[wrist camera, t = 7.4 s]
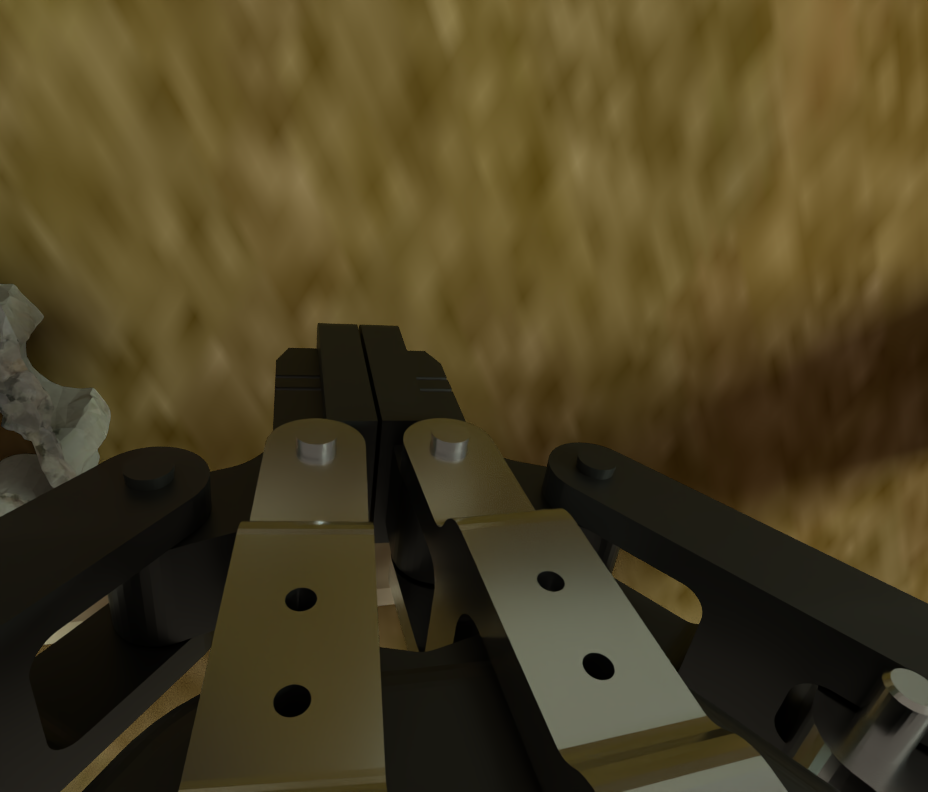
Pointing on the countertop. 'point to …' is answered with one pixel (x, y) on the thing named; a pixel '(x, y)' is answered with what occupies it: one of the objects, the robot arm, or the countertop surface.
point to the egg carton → (41, 413)
